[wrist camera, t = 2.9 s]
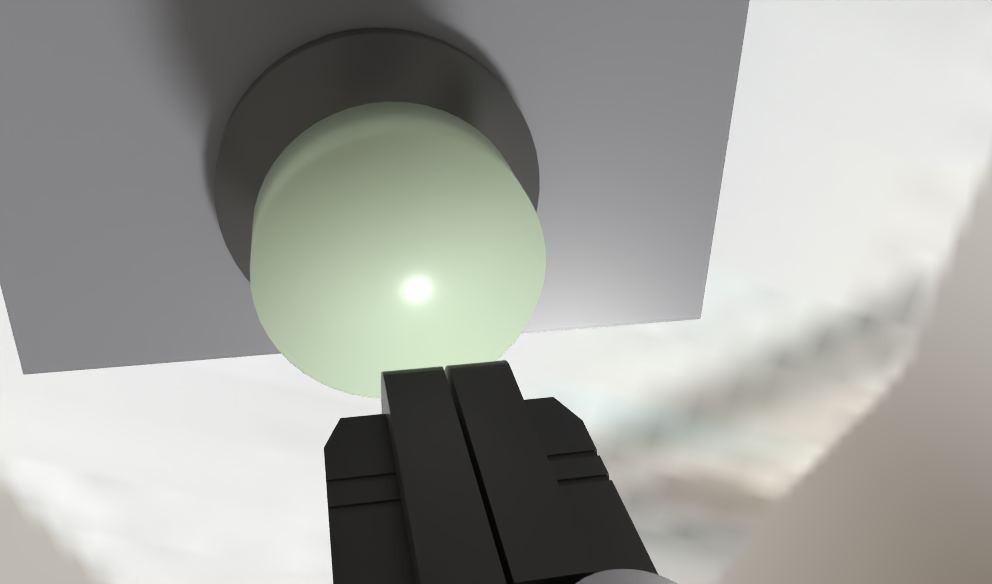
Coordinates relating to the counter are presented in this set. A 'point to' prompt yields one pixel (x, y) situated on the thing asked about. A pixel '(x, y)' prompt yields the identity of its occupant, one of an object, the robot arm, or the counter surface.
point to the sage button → (393, 247)
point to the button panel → (307, 100)
